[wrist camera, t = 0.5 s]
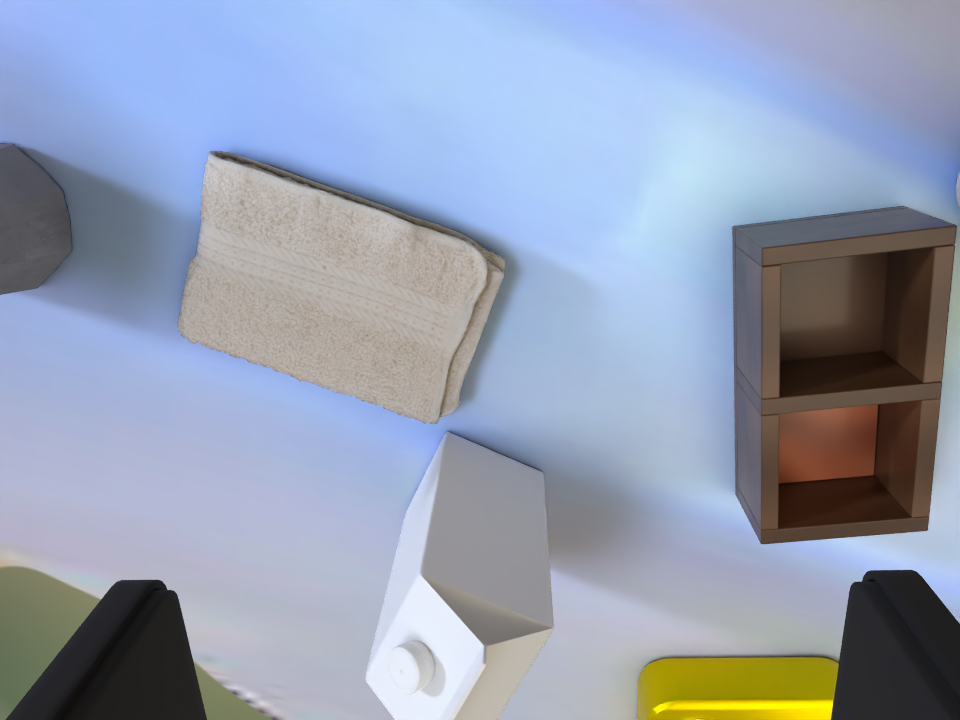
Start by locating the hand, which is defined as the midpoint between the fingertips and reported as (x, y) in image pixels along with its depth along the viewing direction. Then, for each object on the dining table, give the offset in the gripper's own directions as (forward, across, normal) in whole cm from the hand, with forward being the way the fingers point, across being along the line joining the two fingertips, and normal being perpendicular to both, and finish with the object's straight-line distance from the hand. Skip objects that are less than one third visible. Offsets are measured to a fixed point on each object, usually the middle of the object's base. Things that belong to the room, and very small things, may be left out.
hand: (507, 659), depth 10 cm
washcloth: (+36, +11, +4) cm, 37 cm away
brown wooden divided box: (+36, -18, +10) cm, 41 cm away
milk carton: (+36, +4, +18) cm, 41 cm away
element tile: (+36, -15, +40) cm, 56 cm away
